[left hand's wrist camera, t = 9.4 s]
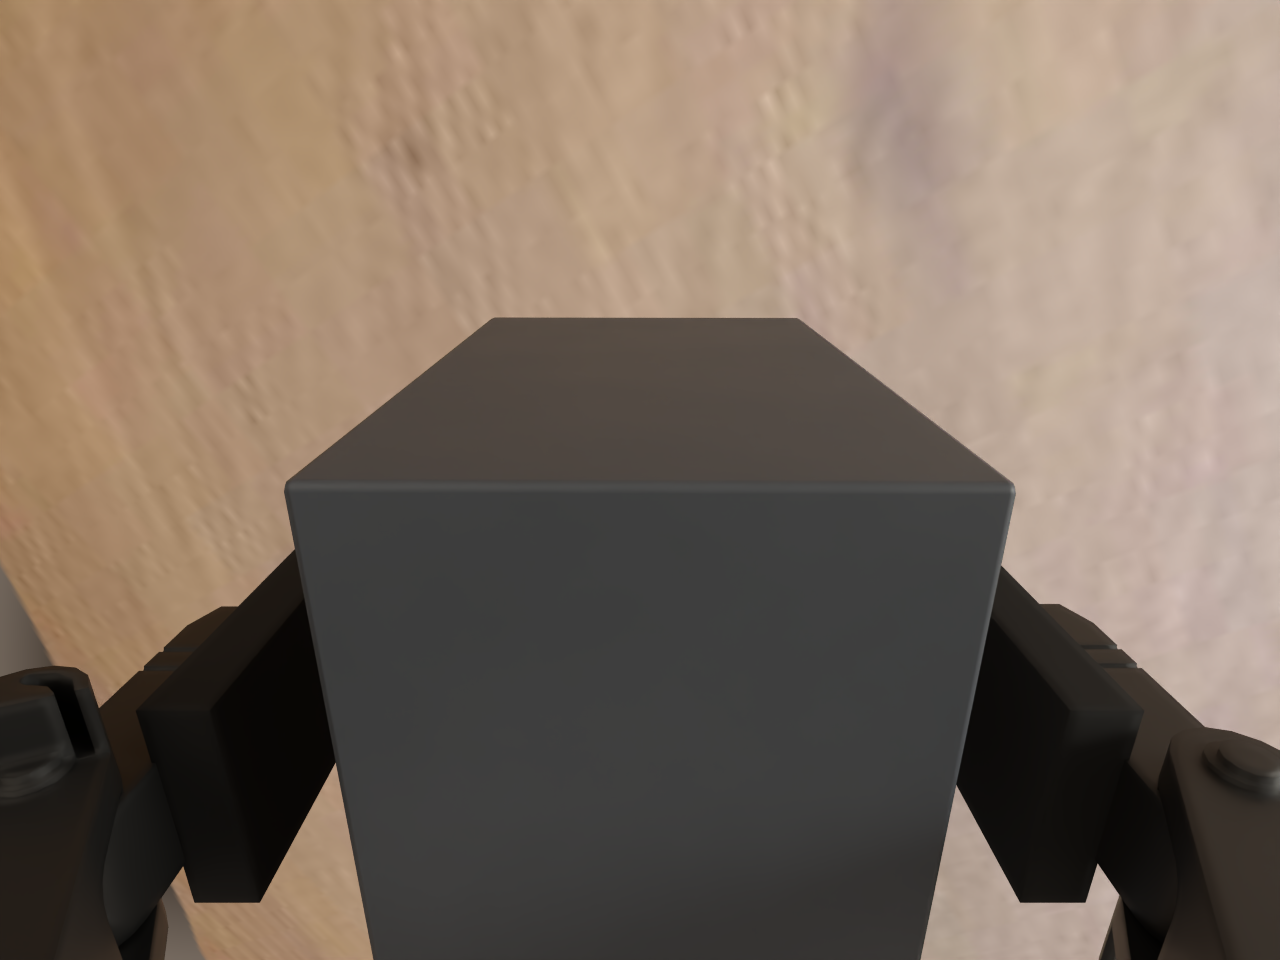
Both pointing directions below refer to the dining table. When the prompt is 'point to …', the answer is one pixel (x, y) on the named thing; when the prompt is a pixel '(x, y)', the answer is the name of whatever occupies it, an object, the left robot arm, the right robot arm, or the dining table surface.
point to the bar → (648, 644)
